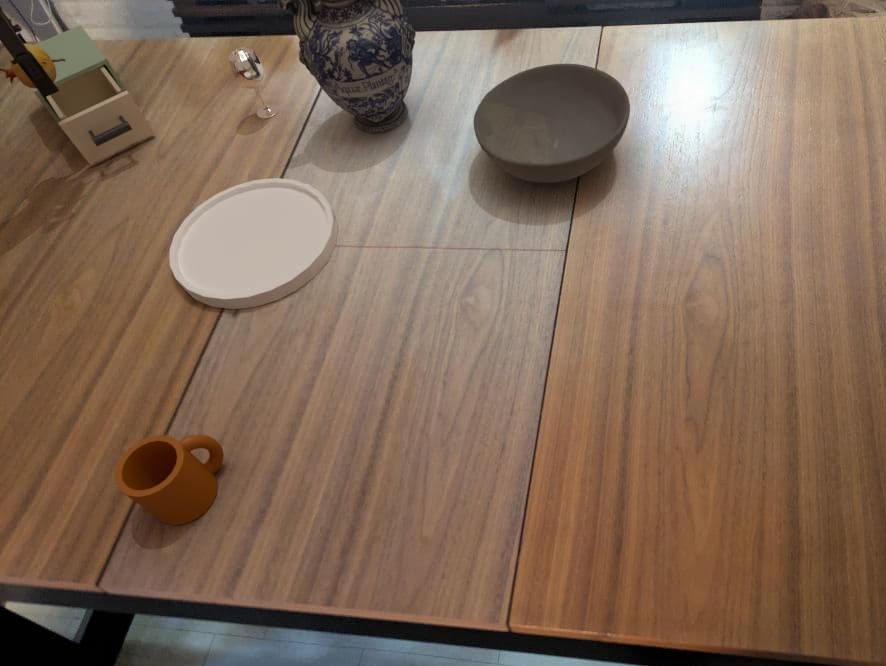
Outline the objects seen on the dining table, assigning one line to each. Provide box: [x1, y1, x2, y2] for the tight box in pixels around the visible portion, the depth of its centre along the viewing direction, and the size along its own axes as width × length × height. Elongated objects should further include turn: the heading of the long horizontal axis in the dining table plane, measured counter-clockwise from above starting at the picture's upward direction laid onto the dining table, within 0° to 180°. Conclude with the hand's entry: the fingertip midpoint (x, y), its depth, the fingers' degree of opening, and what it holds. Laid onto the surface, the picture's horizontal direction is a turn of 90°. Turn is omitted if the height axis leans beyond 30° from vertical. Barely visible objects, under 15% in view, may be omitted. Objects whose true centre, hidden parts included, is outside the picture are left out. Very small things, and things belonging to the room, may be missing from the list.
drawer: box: [46, 65, 155, 165], centre depth 136 cm, size 20×13×9 cm
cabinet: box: [30, 24, 134, 124], centre depth 143 cm, size 17×15×11 cm
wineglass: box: [228, 47, 280, 120], centre depth 136 cm, size 6×6×12 cm
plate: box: [168, 177, 339, 310], centre depth 120 cm, size 28×28×2 cm
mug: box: [114, 433, 225, 526], centre depth 93 cm, size 9×12×9 cm
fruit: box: [0, 43, 65, 89], centre depth 120 cm, size 7×7×10 cm
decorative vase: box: [276, 0, 417, 134], centre depth 125 cm, size 21×19×28 cm
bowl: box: [473, 63, 631, 184], centre depth 122 cm, size 26×26×10 cm
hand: (44, 82), depth 122 cm, fingers closed on fruit, 7 cm apart
